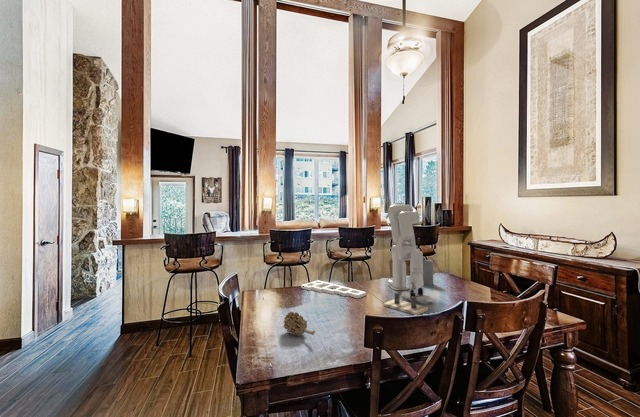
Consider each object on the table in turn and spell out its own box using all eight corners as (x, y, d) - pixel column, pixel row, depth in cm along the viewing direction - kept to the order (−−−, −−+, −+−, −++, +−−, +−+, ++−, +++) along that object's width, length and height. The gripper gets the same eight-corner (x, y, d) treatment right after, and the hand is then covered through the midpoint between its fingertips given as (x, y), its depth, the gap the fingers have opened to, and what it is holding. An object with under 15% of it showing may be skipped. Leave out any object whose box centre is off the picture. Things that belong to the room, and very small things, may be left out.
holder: (366, 296, 204) (366, 292, 204) (349, 302, 191) (349, 298, 191) (318, 283, 235) (318, 280, 235) (300, 288, 222) (300, 285, 222)
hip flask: (433, 284, 229) (433, 257, 228) (431, 285, 226) (431, 258, 226) (414, 280, 241) (414, 255, 240) (412, 281, 238) (412, 255, 237)
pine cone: (277, 332, 147) (277, 312, 147) (292, 326, 154) (292, 307, 154) (310, 347, 132) (309, 325, 132) (324, 340, 139) (324, 318, 139)
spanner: (400, 297, 199) (400, 291, 199) (403, 296, 202) (403, 290, 202) (430, 305, 184) (430, 298, 184) (433, 303, 187) (433, 297, 187)
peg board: (383, 305, 183) (383, 293, 183) (394, 301, 192) (394, 289, 191) (417, 315, 167) (417, 301, 167) (427, 309, 176) (427, 296, 176)
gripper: (417, 267, 201) (417, 293, 201) (403, 271, 189) (404, 299, 189) (428, 269, 195) (428, 295, 196) (415, 273, 183) (415, 301, 184)
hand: (416, 297), depth 193 cm, fingers open, 9 cm apart
